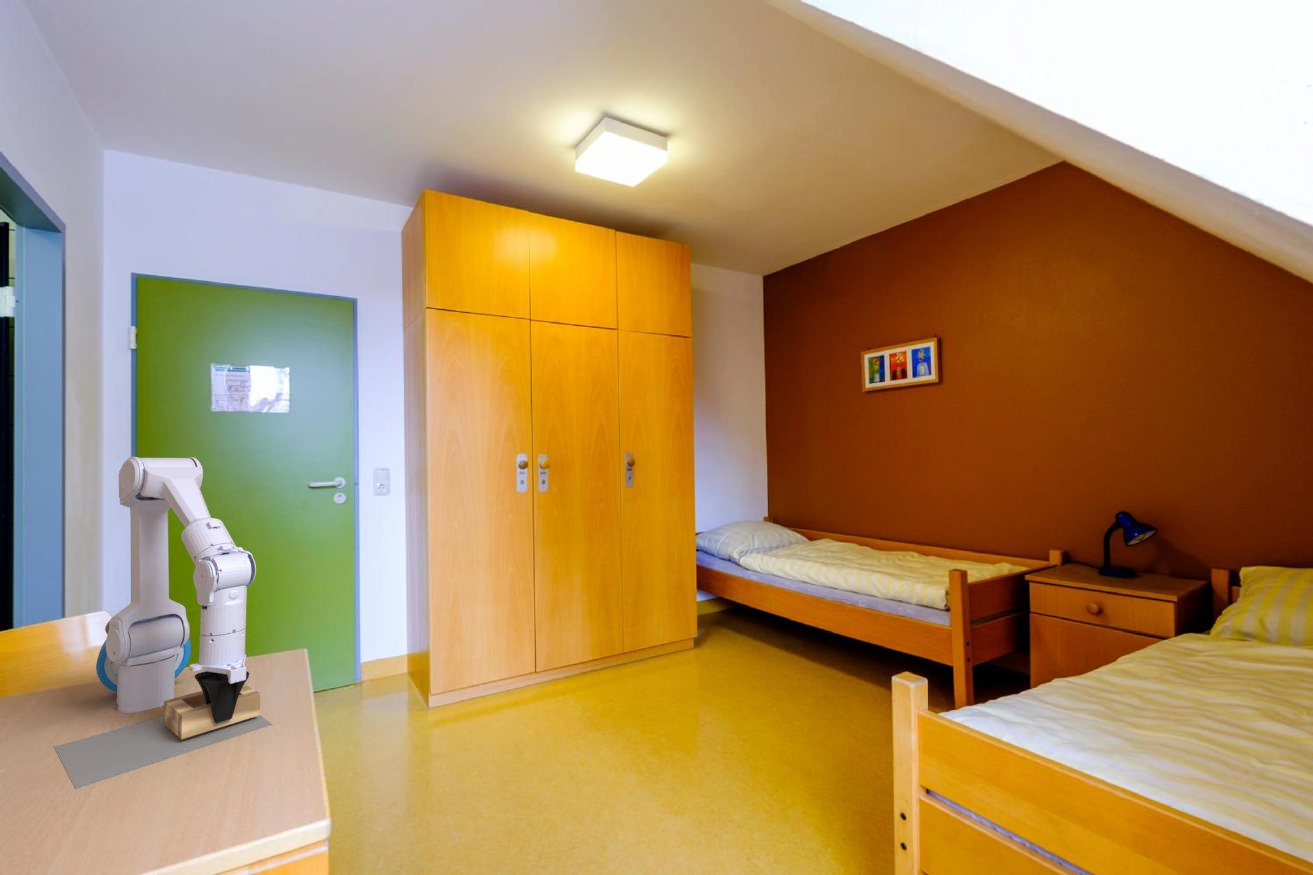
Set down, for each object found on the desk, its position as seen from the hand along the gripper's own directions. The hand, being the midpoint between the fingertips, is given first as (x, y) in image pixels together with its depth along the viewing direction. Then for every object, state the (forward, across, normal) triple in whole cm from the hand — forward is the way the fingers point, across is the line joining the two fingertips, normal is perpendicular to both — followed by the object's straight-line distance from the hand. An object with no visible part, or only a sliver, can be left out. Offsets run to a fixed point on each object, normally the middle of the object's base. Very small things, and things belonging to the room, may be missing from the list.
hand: (220, 718), depth 88 cm
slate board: (+3, -4, -6) cm, 7 cm away
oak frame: (+1, -4, 0) cm, 4 cm away
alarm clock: (+3, -34, -2) cm, 34 cm away
